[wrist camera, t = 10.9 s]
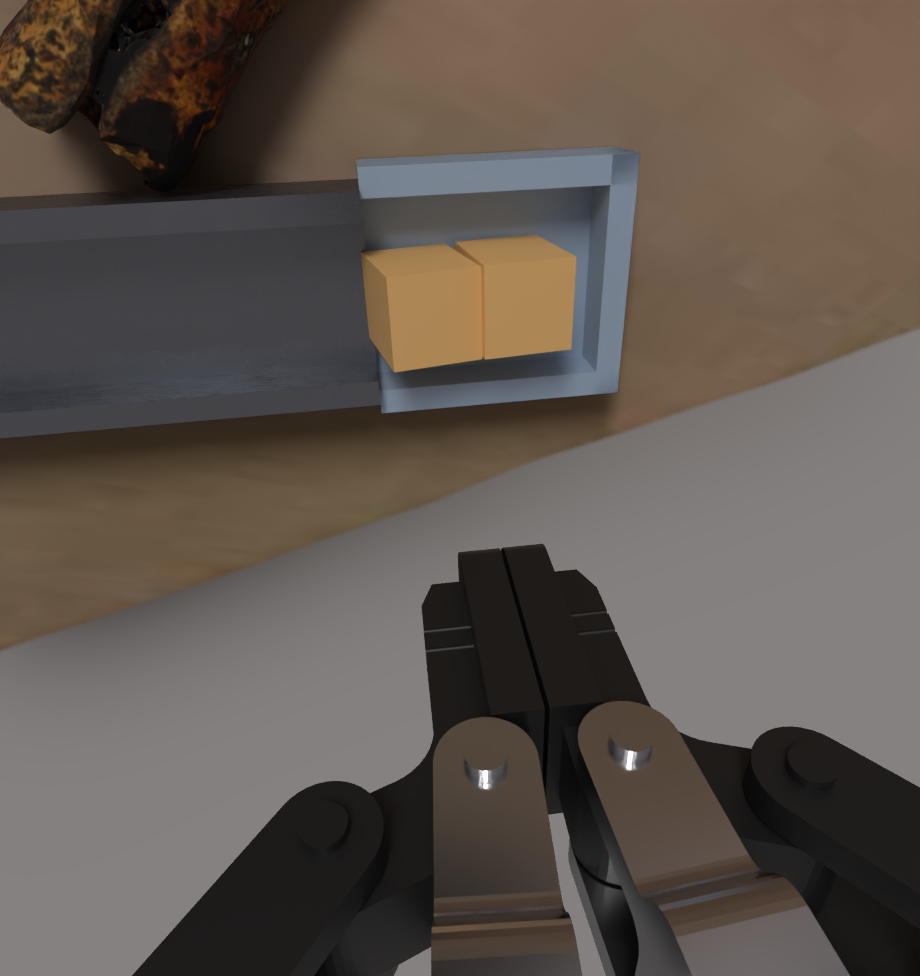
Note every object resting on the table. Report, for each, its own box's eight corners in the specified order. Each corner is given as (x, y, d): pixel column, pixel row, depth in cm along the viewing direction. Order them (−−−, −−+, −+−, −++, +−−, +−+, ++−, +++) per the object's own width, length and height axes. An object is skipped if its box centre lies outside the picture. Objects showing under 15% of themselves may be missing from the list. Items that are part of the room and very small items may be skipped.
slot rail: (357, 178, 31) (359, 191, 28) (377, 374, 36) (380, 405, 32) (-197, 208, 28) (-270, 225, 25) (-95, 413, 33) (-144, 451, 30)
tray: (614, 146, 32) (640, 153, 29) (597, 369, 37) (617, 392, 35) (355, 159, 30) (357, 167, 28) (378, 388, 36) (381, 413, 33)
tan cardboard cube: (444, 243, 32) (480, 266, 28) (447, 326, 34) (482, 359, 30) (360, 252, 31) (385, 277, 27) (369, 337, 33) (394, 372, 29)
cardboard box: (535, 234, 32) (576, 256, 28) (533, 317, 35) (571, 349, 30) (454, 241, 32) (483, 265, 28) (457, 325, 34) (485, 359, 30)
